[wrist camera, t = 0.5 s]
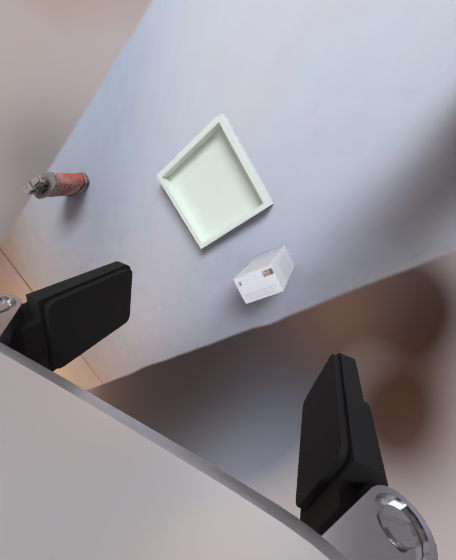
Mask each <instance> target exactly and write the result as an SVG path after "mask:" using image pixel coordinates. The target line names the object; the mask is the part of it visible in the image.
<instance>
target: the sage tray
mask: <svg viewBox="0 0 456 560" xmlns="http://www.w3.org/2000/svg"><path fill="white" fill-rule="evenodd" d="M156 176H157V178H158V180H159V181H160V183H161V185H162V186H163V188H164V189H165V191H166V193H167V194H168V196H169V198H170V199H171V201H172V203H173V204H174V206H175V207H176V209H177V211H178V212H179V214H180V216H181V217H182V219H183V221H184V222H185V224H186V225H187V227H188V229H189V230H190V232H191V234H192V235H193V237H194V239H195V240H196V242H197V243H198V245H199V247H200V248H201V249H202V248H204V247H206V246H207V245H209V244H211V243H212V242H214V241H215V240H217V239H219V238H220V237H222V236H223V235H225V234H227V233H228V232H230V231H231V230H233V229H234V228H236V227H238V226H239V225H241V224H242V223H244V222H246V221H247V220H249V219H250V218H252V217H254V216H255V215H257V214H258V213H260V212H261V211H263V210H265V209H266V208H268V207H269V206H271V205H273V204H274V203H273V201H272V199H271V197H270V195H269V194H268V192H267V190H266V188H265V186H264V184H263V183H262V181H261V179H260V177H259V175H258V173H257V172H256V170H255V168H254V166H253V164H252V162H251V161H250V159H249V157H248V155H247V153H246V151H245V150H244V148H243V146H242V144H241V142H240V140H239V138H238V137H237V135H236V133H235V131H234V129H233V127H232V126H231V124H230V122H229V120H228V118H227V117H226V116H225V115H223V114H221V113H219V114H218V115H217V116H216V117H215V118H214V119H213V120H212V121H211V122H210V123H209V124H208V125H207V126H206V127H205V128H204V129H203V130H202V131H201V132H200V133H199V134H198V135H197V136H196V137H195V138H194V139H193V140H192V141H191V142H190V143H189V144H188V145H187V146H186V147H185V148H184V149H183V150H182V151H181V152H180V153H179V154H178V155H177V156H176V157H175V158H174V159H173V160H172V161H171V162H170V163H169V164H168V165H167V166H166V167H165V168H164V169H163V170H162V171H161V172H160V173H158V174H157V175H156Z"/></svg>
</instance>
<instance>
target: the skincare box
mask: <svg viewBox="0 0 456 560" xmlns="http://www.w3.org/2000/svg"><path fill="white" fill-rule="evenodd" d="M293 268H294V264H293V262H292V259H291V257H290V255H289V253H288V250H287V248H286V246H285V245H284V246H281V247H279V248H276V249H274V250H272V251H269V252H267V253H265V254H262V255H260V256H257V257H255V258H254V259H253V260H252V261H251V262H250V263H249V264H248V265H247V266H246V267H245V268H244V269H243V270H242V271H241V272H240V273H239V274H238V275H237V276H236V277H235V278H234V279H233V280H234V282H235V284H236V286H237V288H238V290H239V292H240V294H241V296H242V298H243V299H244V301H245V303H246V304H248V303H251V302H254V301H257V300H260V299H263V298H266V297H269V296H271V295H274V294H277V293H280V292H283V291H284V289H285V287H286V284H287V282H288V280H289V277H290V275H291V273H292V271H293Z"/></svg>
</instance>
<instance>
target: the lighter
mask: <svg viewBox="0 0 456 560" xmlns="http://www.w3.org/2000/svg"><path fill="white" fill-rule="evenodd" d="M89 182H90V181H89V178H88V176H87V175H86V174H85V173H77V174H66V173H53V172H46V173H44V174H42V175H41V176H36V177H35V178H34V179H33V180H32V181H28V182H26V183H25V184H26V187H25V188H24V192H25V193H26V194H34V195H35V196H36V197H37V198H38V199H40V198H45V197H55V196H76V195H78V194H80V193H82V192H83V191H84V190H85V189H86V188H87V187H88V185H89Z"/></svg>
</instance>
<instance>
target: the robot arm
mask: <svg viewBox="0 0 456 560" xmlns="http://www.w3.org/2000/svg"><path fill="white" fill-rule="evenodd" d="M131 286H132V271H131V270H130V267H129V266H128V265H126V264H123V263H121V262H118V261H117V262H113V263H111V264H108V265H105V266H102V267H100V268H97V269H94V270H92V271H89V272H86V273H83V274H81V275H78V276H75V277H73V278H70V279H67V280H64V281H62V282H59V283H56V284H54V285H51V286H48V287H45V288H43V289H40V290H37V291H35V292H32V293H29V294H26V298H27V302H26V303H24V304H22V301H21V299H20V298H19V297H17V296H14V295H9V294H0V560H438V554H437V548H436V544H435V541H434V538H433V536H432V533H431V531H430V529H429V527H428V526H427V524H426V522H425V520H424V519H423V517H422V516H421V515H420V513H419V512H418V511H417V509H416V508H415V507H414V506H413V505H412V504H411V503H410V502H409V501H408V500H407V499H406V498H405V497H404V496H403V495H401V494H400V493H399V492H397V491H396V490H394V489H392V488H390V487H388V483H387V479H386V474H385V470H384V465H383V462H382V457H381V452H380V448H379V444H378V439H377V435H376V431H375V427H374V422H373V417H372V413H371V409H370V406H369V405H368V404H367V403H366V402H364V400H363V395H362V390H361V385H360V381H359V376H358V371H357V366H356V362H355V359H353V358H350V357H348V356H346V355H343V354H341V353H338V354H337V355H333V354H332V355H331V356H330V358H329V359H328V361H327V363H326V364H325V366H324V368H323V370H322V371H321V373H320V375H319V376H318V378H317V380H316V382H315V383H314V385H313V387H312V389H311V390H310V392H309V394H308V395H307V397H306V399H305V401H304V405H303V412H302V425H301V438H300V451H299V464H298V478H297V491H296V505H297V506H298V507H299V508H301V513H300V520H299V519H298V518H297V517H295V516H294V515H292V514H291V513H289V512H288V511H286V510H285V509H283V508H282V507H280V506H279V505H277V504H276V503H274V502H273V501H271V500H269V499H268V498H266V497H264V496H263V495H261V494H260V493H258V492H256V491H255V490H253V489H251V488H250V487H248V486H246V485H245V484H243V483H242V482H240V481H238V480H237V479H235V478H233V477H232V476H230V475H229V474H227V473H225V472H224V471H222V470H220V469H218V468H217V467H215V466H213V465H212V464H210V463H208V462H207V461H205V460H203V459H202V458H200V457H198V456H196V455H195V454H193V453H191V452H190V451H188V450H186V449H184V448H183V447H181V446H179V445H178V444H176V443H174V442H173V441H171V440H169V439H168V438H166V437H164V436H162V435H161V434H159V433H157V432H156V431H154V430H152V429H151V428H148V427H147V426H145V425H144V424H142V423H140V422H138V421H137V420H135V419H133V418H132V417H130V416H128V415H127V414H125V413H123V412H121V411H120V410H118V409H116V408H114V407H113V406H111V405H109V404H108V403H106V402H104V401H102V400H101V399H99V398H97V397H96V396H94V395H92V394H90V393H89V392H87V391H85V390H84V389H82V388H80V387H78V386H77V385H75V384H73V383H71V382H70V381H68V380H66V379H64V378H63V377H61V376H59V375H57V374H56V373H54V372H53V371H54V370H56V369H57V368H62V367H64V366H65V365H66V364H68V363H69V362H71V361H72V360H74V359H75V358H76V357H78V356H79V355H81V354H82V353H84V352H85V351H86V350H88V349H89V348H91V347H92V346H94V345H95V344H96V343H98V342H99V341H101V340H102V339H103V338H105V337H106V336H108V335H109V334H111V333H112V332H113V331H115V330H116V329H118V328H119V327H121V326H122V325H123V324H125V323H126V322H127V321H128V319H129V316H130V302H131Z"/></svg>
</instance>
